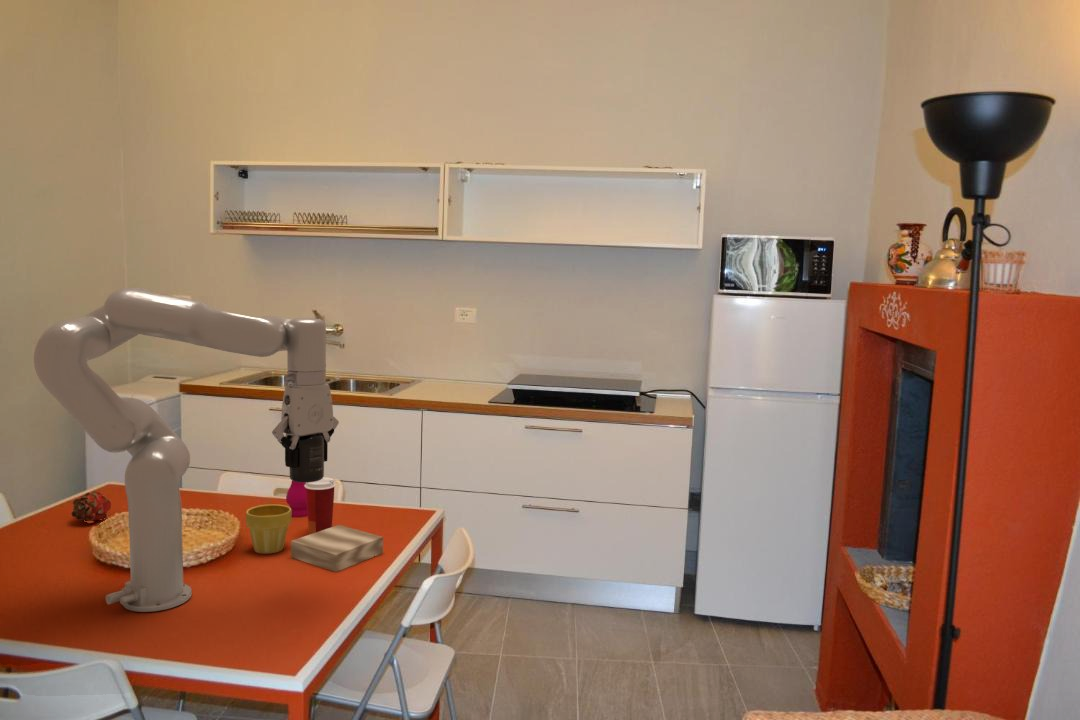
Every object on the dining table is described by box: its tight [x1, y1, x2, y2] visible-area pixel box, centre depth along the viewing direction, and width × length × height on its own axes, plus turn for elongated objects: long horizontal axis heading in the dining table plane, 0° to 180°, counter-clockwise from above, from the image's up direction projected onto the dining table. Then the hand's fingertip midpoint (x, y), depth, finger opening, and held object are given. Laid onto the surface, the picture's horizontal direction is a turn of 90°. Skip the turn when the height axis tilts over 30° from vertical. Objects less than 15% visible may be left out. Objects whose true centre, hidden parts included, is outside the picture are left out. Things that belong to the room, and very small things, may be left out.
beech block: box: [290, 524, 384, 573], centre depth 184 cm, size 15×15×4 cm
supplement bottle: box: [289, 433, 325, 483], centre depth 159 cm, size 7×7×12 cm
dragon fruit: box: [71, 490, 112, 522], centre depth 202 cm, size 8×8×12 cm
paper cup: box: [304, 476, 337, 535], centre depth 198 cm, size 8×8×14 cm
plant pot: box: [245, 503, 293, 555], centre depth 186 cm, size 10×10×10 cm
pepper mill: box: [285, 480, 308, 518], centre depth 213 cm, size 7×7×20 cm
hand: (306, 463), depth 160 cm, fingers closed on supplement bottle, 6 cm apart
